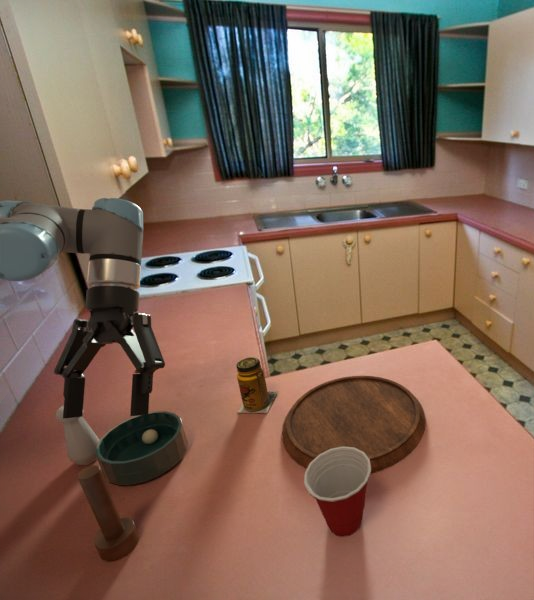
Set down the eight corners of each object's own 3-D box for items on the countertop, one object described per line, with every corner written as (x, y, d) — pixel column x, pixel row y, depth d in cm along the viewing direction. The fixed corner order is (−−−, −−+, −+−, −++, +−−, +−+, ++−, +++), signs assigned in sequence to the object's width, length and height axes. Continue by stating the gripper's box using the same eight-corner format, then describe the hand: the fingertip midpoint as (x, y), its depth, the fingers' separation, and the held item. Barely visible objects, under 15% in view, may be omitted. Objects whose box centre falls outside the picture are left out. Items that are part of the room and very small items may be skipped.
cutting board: (317, 504, 76) (315, 493, 75) (263, 411, 101) (261, 402, 100) (454, 433, 92) (454, 424, 91) (379, 368, 117) (378, 360, 116)
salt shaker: (108, 457, 89) (88, 406, 83) (76, 473, 85) (53, 421, 80) (100, 444, 92) (80, 394, 87) (68, 459, 88) (46, 408, 83)
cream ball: (142, 448, 90) (138, 437, 89) (145, 439, 92) (142, 428, 91) (158, 445, 91) (154, 434, 89) (161, 436, 93) (157, 425, 92)
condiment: (237, 413, 101) (227, 370, 96) (250, 391, 108) (242, 351, 104) (267, 413, 100) (258, 370, 95) (278, 392, 108) (271, 351, 103)
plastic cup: (306, 507, 76) (298, 455, 71) (365, 488, 79) (360, 438, 74) (318, 562, 66) (309, 506, 62) (383, 538, 70) (380, 484, 65)
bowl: (94, 496, 79) (83, 472, 77) (117, 441, 93) (109, 419, 90) (182, 475, 83) (174, 452, 81) (192, 426, 97) (186, 405, 94)
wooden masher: (94, 566, 67) (59, 491, 60) (106, 535, 72) (74, 463, 65) (134, 555, 68) (103, 481, 62) (142, 526, 73) (115, 454, 67)
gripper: (191, 285, 73) (186, 411, 70) (78, 299, 79) (68, 416, 76) (156, 276, 66) (149, 416, 63) (35, 292, 72) (22, 421, 69)
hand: (105, 416), depth 69 cm, fingers open, 13 cm apart
